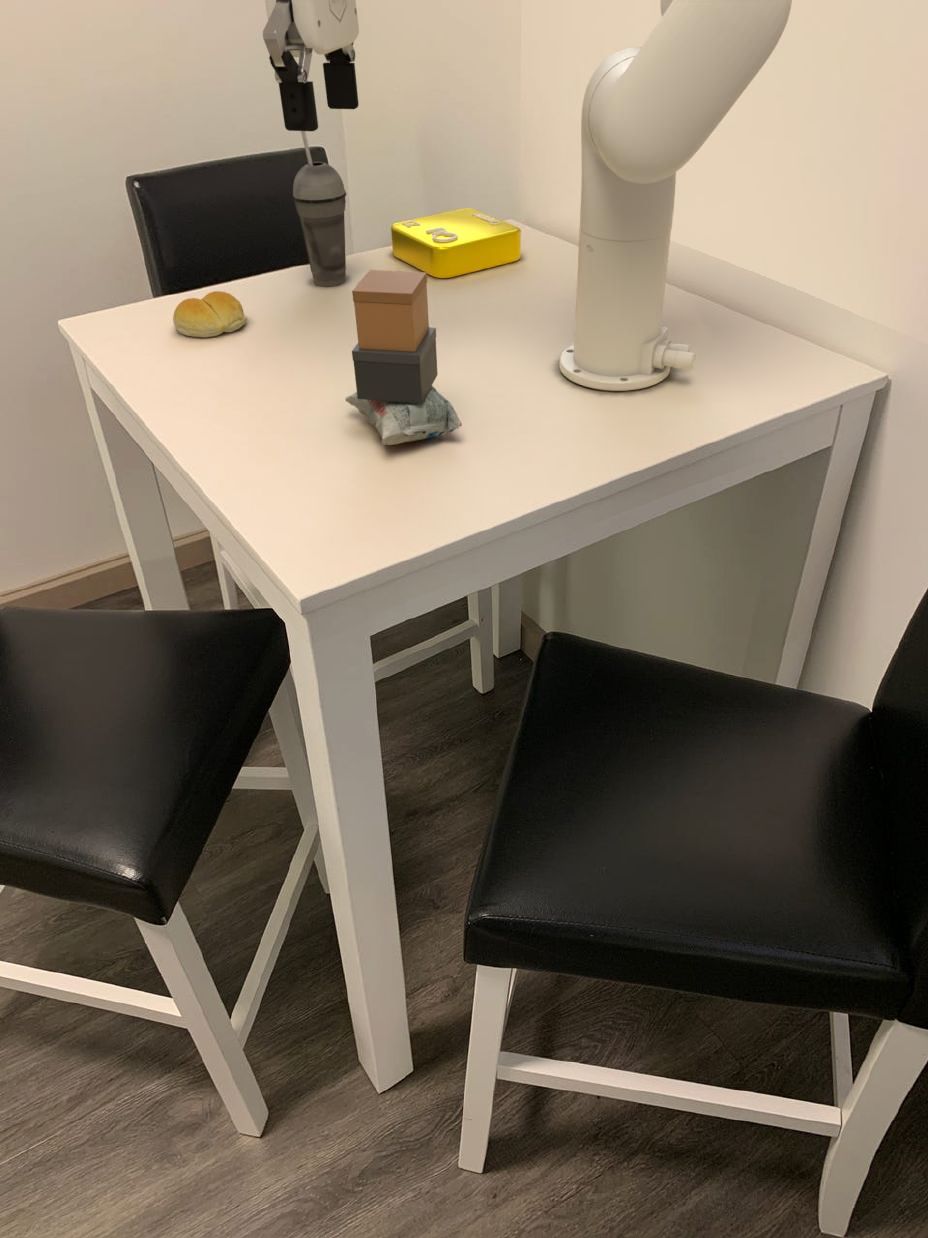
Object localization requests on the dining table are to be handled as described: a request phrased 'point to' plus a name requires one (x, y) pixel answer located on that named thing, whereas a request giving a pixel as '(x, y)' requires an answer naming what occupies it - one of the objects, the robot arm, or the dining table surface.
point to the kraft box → (391, 310)
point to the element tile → (456, 242)
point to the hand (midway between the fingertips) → (323, 118)
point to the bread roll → (209, 315)
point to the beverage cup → (322, 219)
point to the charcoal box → (396, 372)
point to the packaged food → (409, 417)
